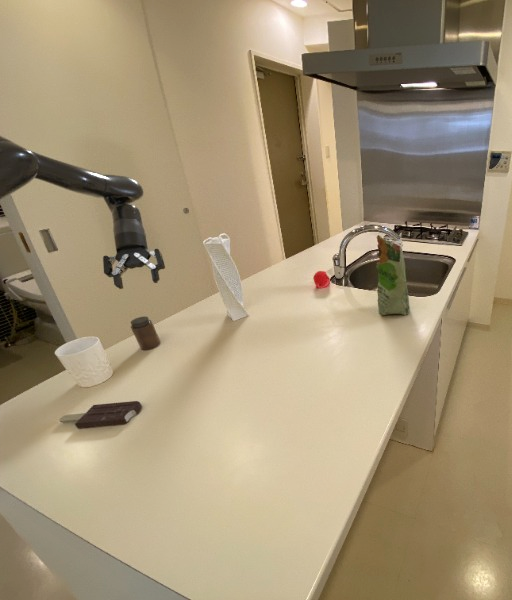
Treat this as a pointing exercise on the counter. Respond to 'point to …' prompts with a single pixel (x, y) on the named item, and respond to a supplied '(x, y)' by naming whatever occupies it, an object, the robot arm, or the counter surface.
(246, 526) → the counter surface
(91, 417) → the ice cream bar
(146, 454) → the counter surface
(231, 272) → the skyscraper
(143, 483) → the counter surface
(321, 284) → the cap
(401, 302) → the pouch
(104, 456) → the counter surface
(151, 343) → the pepper mill
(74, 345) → the white cup
